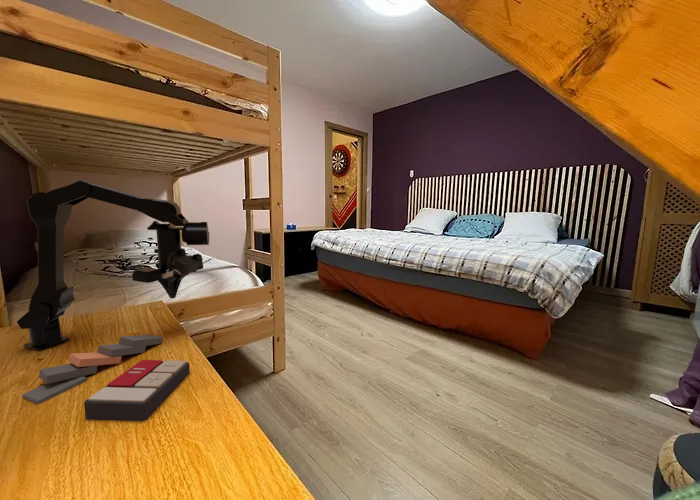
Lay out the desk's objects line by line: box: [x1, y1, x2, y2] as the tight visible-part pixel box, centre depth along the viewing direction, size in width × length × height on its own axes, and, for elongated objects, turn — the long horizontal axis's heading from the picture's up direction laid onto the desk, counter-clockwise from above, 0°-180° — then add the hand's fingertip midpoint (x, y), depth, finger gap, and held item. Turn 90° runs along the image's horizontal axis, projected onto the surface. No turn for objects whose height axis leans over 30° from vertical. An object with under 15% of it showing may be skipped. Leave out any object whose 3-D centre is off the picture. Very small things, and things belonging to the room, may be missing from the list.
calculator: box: [83, 359, 191, 422], centre depth 60 cm, size 11×4×15 cm
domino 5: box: [118, 334, 164, 347], centre depth 77 cm, size 5×2×8 cm
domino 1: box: [38, 363, 98, 384], centre depth 64 cm, size 5×2×8 cm
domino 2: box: [21, 376, 88, 405], centre depth 61 cm, size 5×2×8 cm
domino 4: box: [96, 343, 147, 357], centre depth 73 cm, size 5×2×8 cm
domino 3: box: [67, 351, 123, 367], centre depth 68 cm, size 5×2×8 cm
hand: (172, 298), depth 87 cm, fingers closed
